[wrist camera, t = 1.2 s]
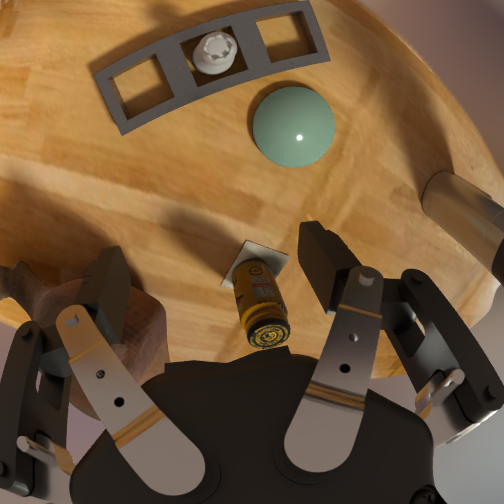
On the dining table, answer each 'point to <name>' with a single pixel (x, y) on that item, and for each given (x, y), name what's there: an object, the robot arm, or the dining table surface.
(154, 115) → the grey compartment tray
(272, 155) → the green dome
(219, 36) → the rook chess piece
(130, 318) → the jug
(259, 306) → the condiment
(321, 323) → the dining table surface
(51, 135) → the dining table surface
